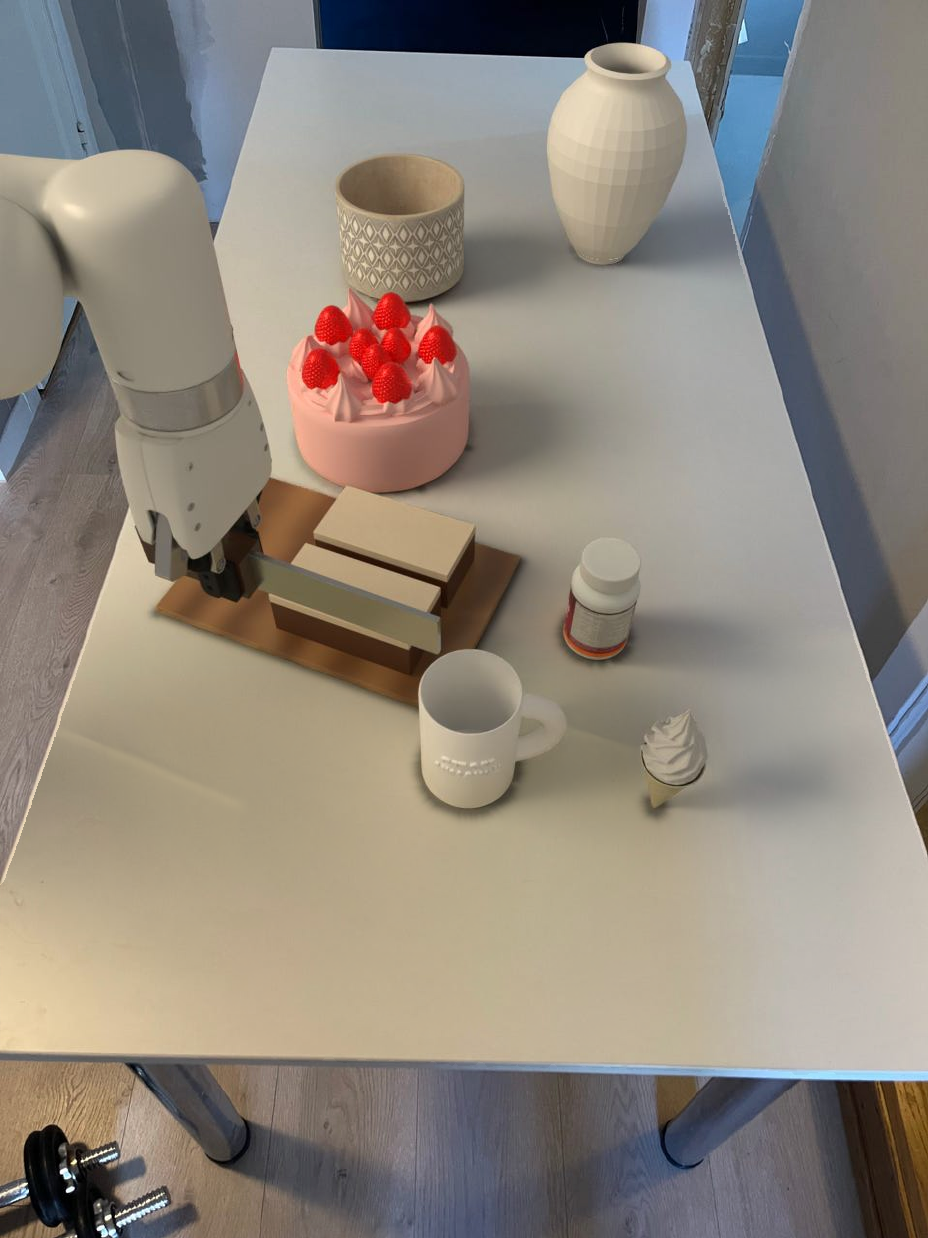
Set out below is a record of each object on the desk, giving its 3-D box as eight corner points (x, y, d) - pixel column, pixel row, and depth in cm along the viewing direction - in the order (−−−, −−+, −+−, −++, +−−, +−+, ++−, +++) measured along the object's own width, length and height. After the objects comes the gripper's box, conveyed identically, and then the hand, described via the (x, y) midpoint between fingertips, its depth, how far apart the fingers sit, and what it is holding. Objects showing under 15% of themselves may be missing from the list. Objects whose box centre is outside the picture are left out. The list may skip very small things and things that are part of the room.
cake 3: (276, 628, 86) (267, 594, 82) (311, 576, 90) (305, 542, 86) (410, 676, 83) (408, 643, 79) (441, 620, 87) (440, 587, 83)
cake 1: (370, 361, 113) (361, 255, 102) (504, 424, 106) (510, 317, 95) (261, 447, 103) (238, 340, 92) (401, 523, 96) (394, 417, 85)
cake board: (158, 612, 88) (155, 606, 87) (263, 481, 100) (261, 474, 99) (441, 716, 81) (440, 710, 81) (519, 562, 93) (519, 555, 92)
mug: (566, 805, 76) (583, 732, 67) (424, 815, 75) (421, 742, 66) (552, 721, 81) (566, 642, 72) (419, 730, 80) (415, 651, 71)
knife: (148, 562, 70) (134, 526, 66) (168, 539, 71) (155, 503, 68) (431, 667, 64) (431, 633, 61) (447, 640, 65) (447, 606, 62)
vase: (682, 277, 125) (726, 81, 106) (560, 293, 123) (582, 95, 103) (636, 212, 136) (668, 23, 116) (523, 226, 133) (536, 35, 113)
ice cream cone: (621, 777, 78) (652, 679, 66) (681, 779, 78) (722, 681, 66) (626, 832, 75) (659, 739, 63) (688, 834, 75) (732, 742, 63)
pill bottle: (577, 602, 90) (591, 522, 81) (635, 625, 88) (657, 546, 79) (552, 647, 86) (564, 569, 77) (613, 672, 85) (632, 595, 76)
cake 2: (318, 566, 91) (313, 531, 87) (350, 519, 95) (346, 484, 91) (447, 609, 88) (447, 575, 84) (474, 559, 92) (475, 525, 88)
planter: (439, 320, 118) (438, 227, 108) (324, 295, 122) (313, 203, 112) (478, 255, 128) (481, 165, 118) (371, 234, 131) (364, 144, 121)
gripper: (201, 293, 60) (249, 495, 74) (36, 444, 51) (128, 640, 65) (301, 321, 58) (330, 523, 72) (149, 483, 49) (217, 676, 63)
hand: (234, 577), depth 69 cm, fingers closed on knife, 2 cm apart
